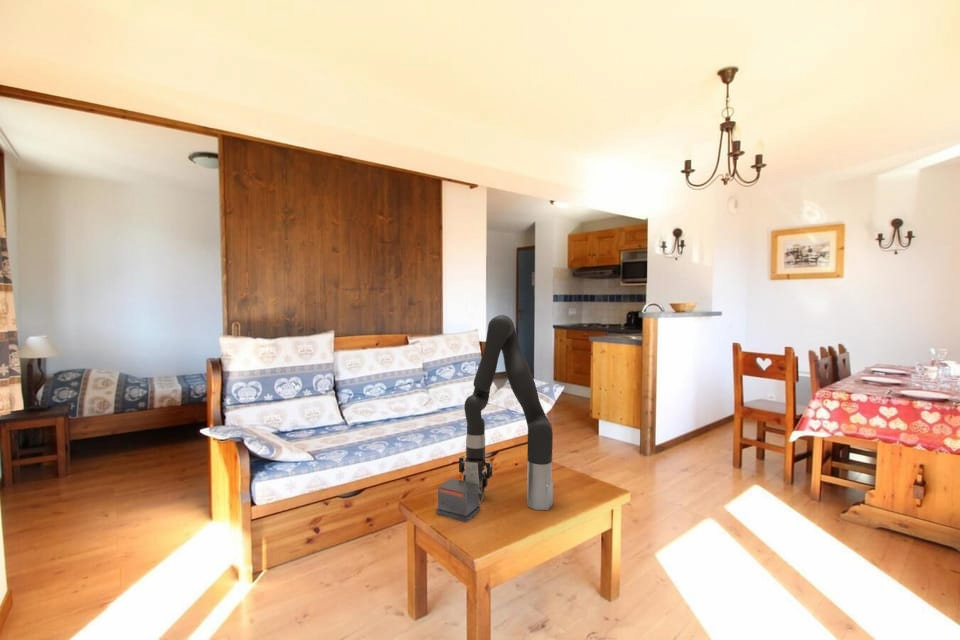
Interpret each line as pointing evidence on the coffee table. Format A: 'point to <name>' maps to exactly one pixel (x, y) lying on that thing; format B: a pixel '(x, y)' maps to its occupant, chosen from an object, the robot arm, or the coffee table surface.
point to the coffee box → (475, 475)
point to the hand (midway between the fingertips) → (475, 485)
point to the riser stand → (458, 499)
